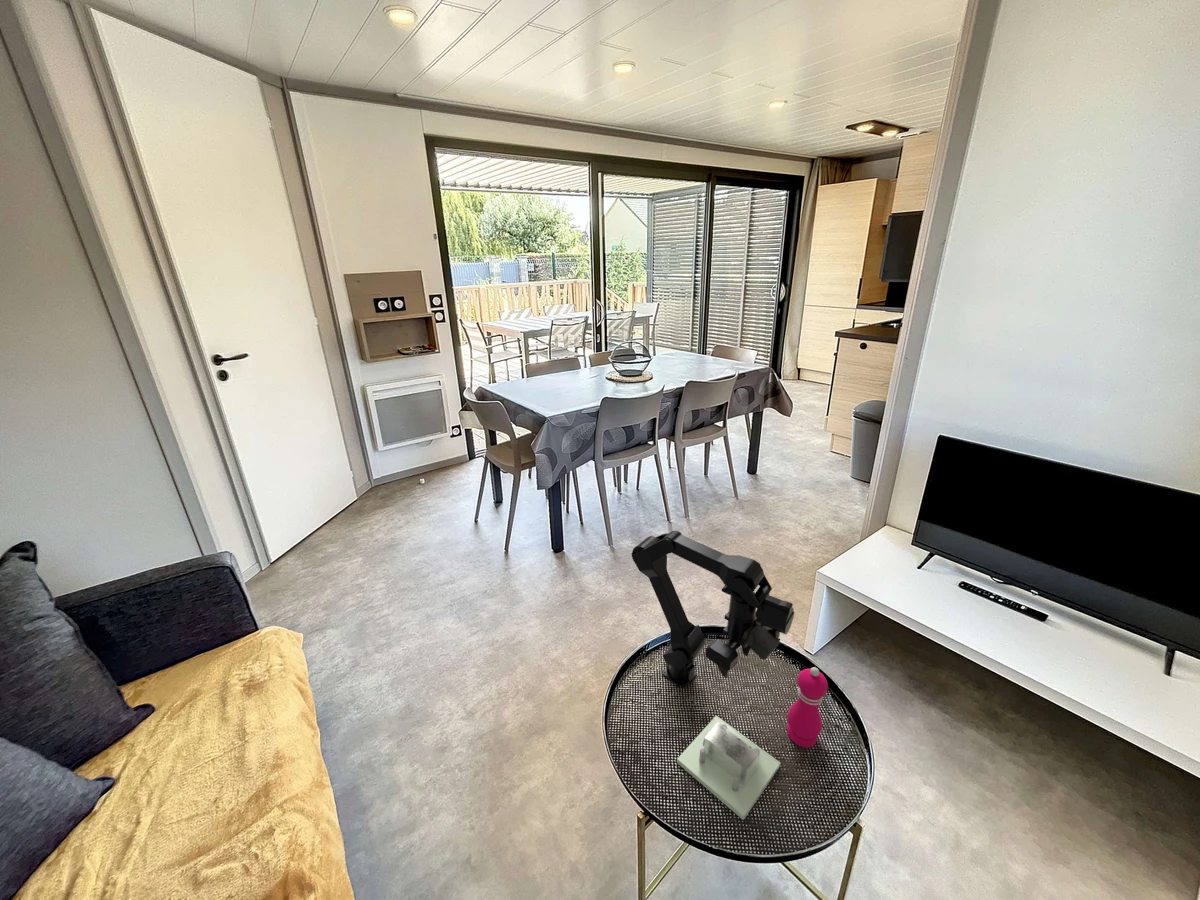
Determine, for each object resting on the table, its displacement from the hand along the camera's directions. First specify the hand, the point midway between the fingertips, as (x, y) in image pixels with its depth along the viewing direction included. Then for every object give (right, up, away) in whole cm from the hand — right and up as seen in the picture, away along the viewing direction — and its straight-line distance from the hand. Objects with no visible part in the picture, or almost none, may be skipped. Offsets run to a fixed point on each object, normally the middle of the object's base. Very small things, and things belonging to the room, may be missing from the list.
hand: (735, 665), depth 113 cm
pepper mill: (+14, -14, -4) cm, 21 cm away
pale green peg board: (-4, -17, -10) cm, 20 cm away
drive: (-4, -16, -10) cm, 19 cm away
